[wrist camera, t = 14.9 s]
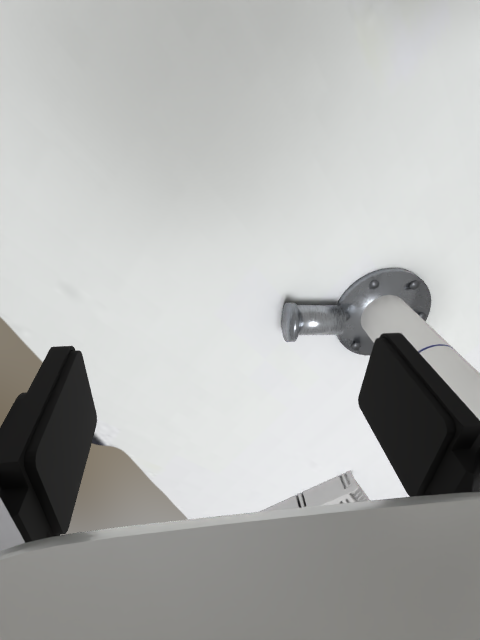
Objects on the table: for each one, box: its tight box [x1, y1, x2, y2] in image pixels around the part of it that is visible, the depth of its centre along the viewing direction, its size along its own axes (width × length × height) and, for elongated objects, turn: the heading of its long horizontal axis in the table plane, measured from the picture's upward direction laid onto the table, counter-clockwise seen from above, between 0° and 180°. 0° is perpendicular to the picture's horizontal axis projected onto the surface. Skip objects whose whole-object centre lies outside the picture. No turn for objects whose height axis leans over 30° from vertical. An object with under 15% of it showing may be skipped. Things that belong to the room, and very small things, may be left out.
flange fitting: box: [282, 268, 431, 355], centre depth 53 cm, size 23×15×6 cm, turn 86°
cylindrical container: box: [361, 295, 480, 420], centre depth 45 cm, size 7×7×25 cm
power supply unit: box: [260, 471, 370, 512], centre depth 84 cm, size 19×33×5 cm, turn 121°
